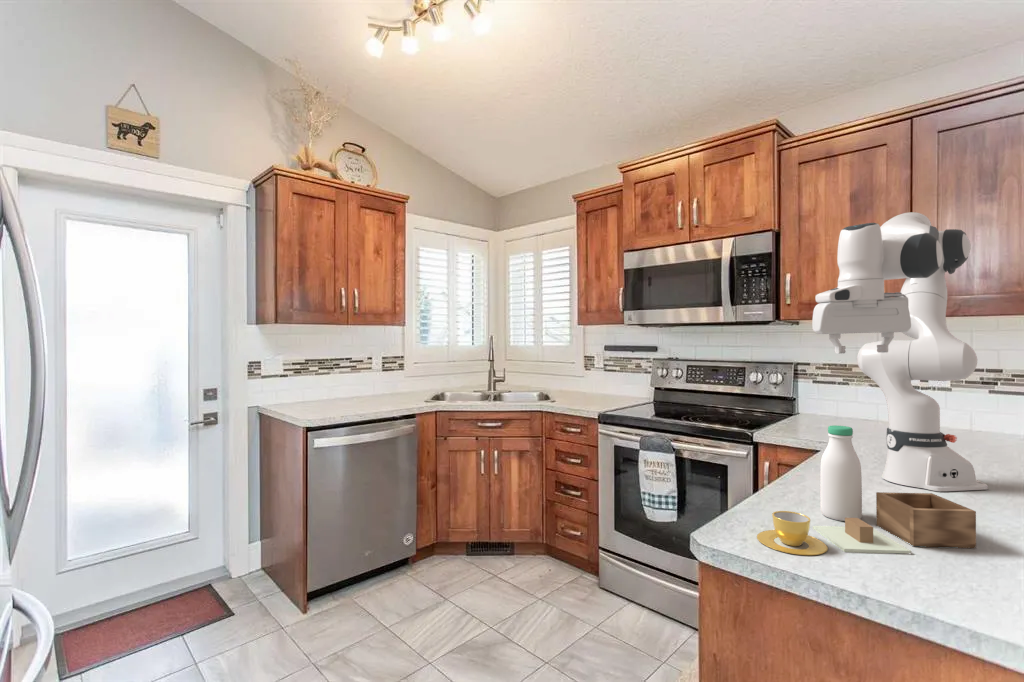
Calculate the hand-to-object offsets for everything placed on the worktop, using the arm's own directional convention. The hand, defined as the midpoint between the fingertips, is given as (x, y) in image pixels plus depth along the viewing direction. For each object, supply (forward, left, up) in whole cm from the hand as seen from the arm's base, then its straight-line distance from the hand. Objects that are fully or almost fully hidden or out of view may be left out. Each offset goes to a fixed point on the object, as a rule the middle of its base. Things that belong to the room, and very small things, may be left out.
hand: (861, 353), depth 116 cm
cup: (+25, +22, -37) cm, 50 cm away
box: (-2, +16, -36) cm, 40 cm away
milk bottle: (+8, +6, -36) cm, 38 cm away
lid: (+12, +19, -37) cm, 43 cm away
